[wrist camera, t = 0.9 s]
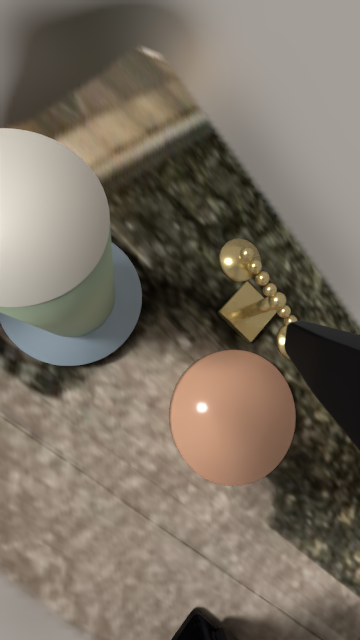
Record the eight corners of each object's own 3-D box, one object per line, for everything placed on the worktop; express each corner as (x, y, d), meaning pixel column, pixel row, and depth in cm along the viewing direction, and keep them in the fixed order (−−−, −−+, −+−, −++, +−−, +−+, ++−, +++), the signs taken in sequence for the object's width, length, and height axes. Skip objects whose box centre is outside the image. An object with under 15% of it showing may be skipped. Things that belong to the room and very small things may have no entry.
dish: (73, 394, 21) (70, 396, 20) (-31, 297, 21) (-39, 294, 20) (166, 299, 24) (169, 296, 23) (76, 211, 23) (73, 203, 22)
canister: (71, 354, 21) (7, 347, 9) (7, 294, 20) (-147, 204, 9) (131, 296, 22) (146, 222, 10) (73, 239, 22) (18, 95, 10)
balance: (274, 370, 25) (333, 374, 18) (187, 284, 24) (214, 254, 17) (299, 339, 26) (364, 332, 19) (215, 256, 25) (251, 217, 18)
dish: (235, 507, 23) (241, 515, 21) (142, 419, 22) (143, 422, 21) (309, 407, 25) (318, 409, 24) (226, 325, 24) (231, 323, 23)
